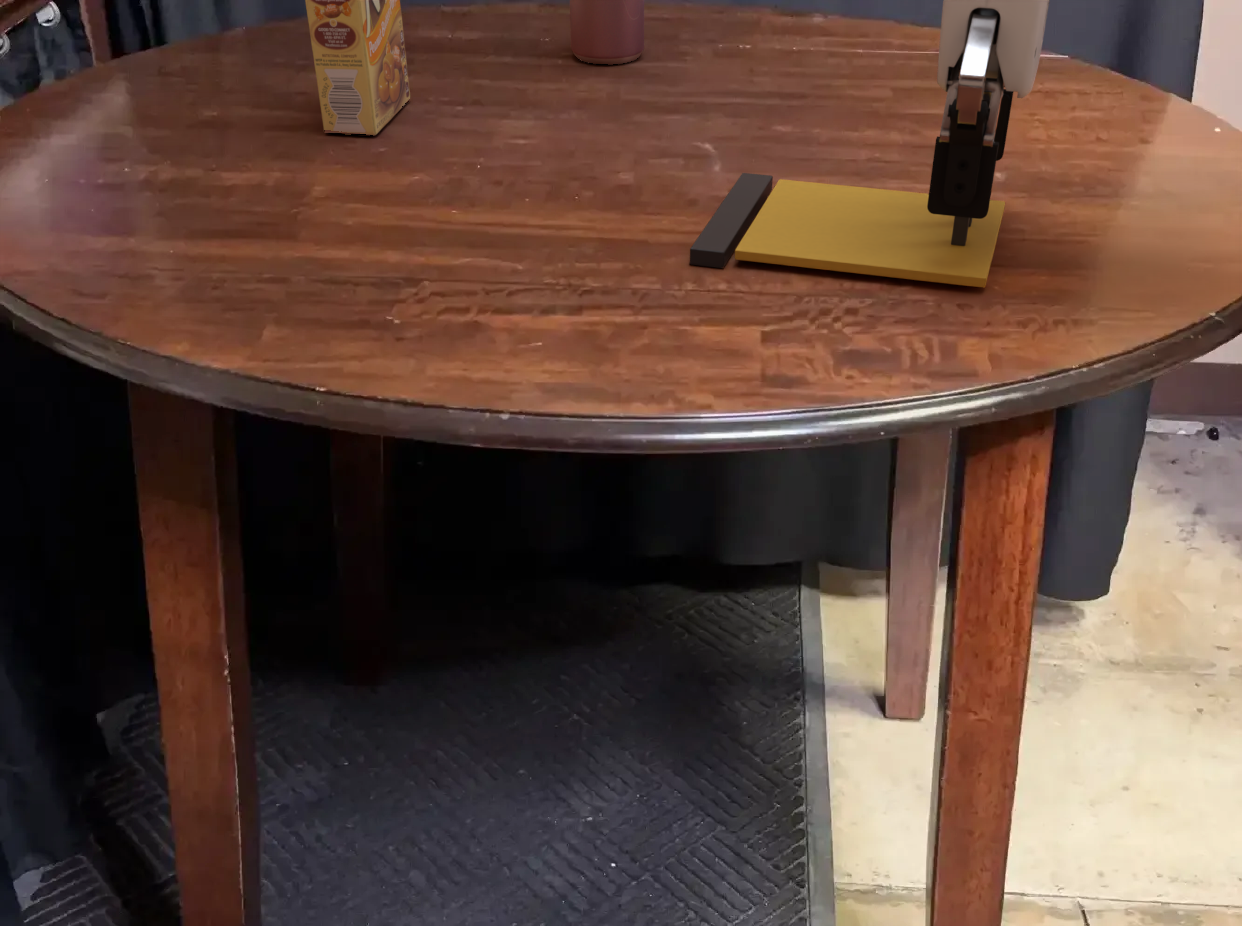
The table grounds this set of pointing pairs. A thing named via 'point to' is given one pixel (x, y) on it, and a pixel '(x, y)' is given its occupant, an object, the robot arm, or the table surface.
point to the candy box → (358, 62)
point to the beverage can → (607, 30)
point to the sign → (870, 234)
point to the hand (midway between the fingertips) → (966, 184)
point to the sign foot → (731, 221)
